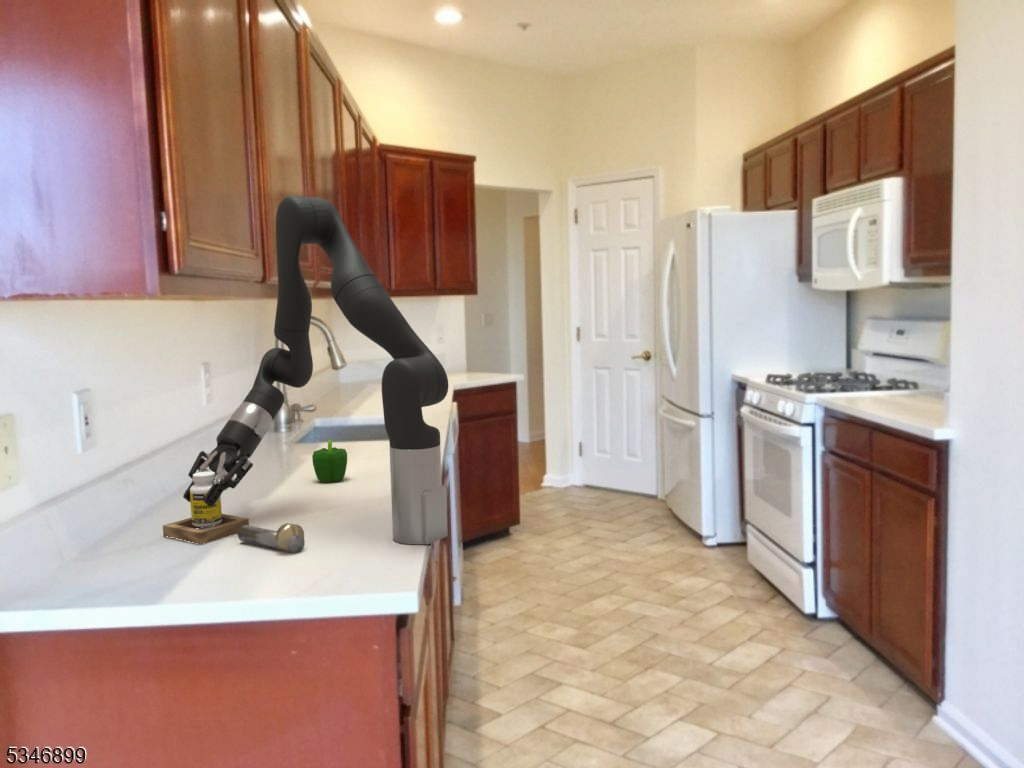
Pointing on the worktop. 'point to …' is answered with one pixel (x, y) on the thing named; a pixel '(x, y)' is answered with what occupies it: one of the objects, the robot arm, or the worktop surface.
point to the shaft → (275, 537)
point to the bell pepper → (330, 463)
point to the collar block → (190, 533)
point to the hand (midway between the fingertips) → (197, 501)
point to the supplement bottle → (199, 509)
